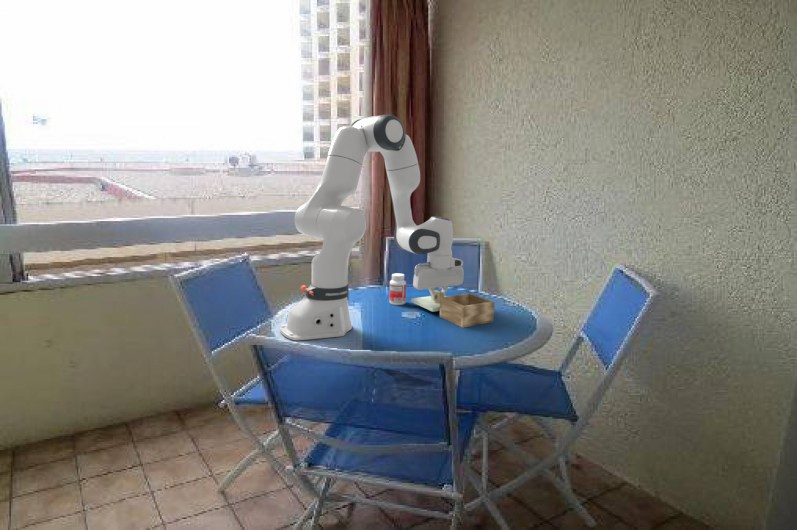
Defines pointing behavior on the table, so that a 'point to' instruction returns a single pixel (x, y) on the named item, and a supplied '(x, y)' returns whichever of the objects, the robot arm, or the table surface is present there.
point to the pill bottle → (397, 289)
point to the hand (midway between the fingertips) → (437, 298)
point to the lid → (429, 301)
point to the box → (466, 310)
